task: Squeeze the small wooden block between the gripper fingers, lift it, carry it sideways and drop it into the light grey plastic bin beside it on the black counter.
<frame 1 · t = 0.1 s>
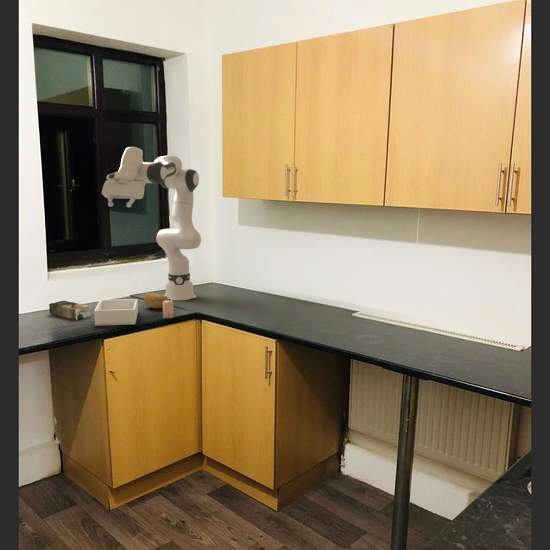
hand: (119, 206, 250), 54 cm above the kitchen counter, tool tilted 30°, fingers open, 8 cm apart
bin: (117, 318, 266), on the kitchen counter
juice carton: (70, 316, 270), on the kitchen counter
wooden block: (168, 317, 270), on the kitchen counter
potato: (156, 308, 287), on the kitchen counter
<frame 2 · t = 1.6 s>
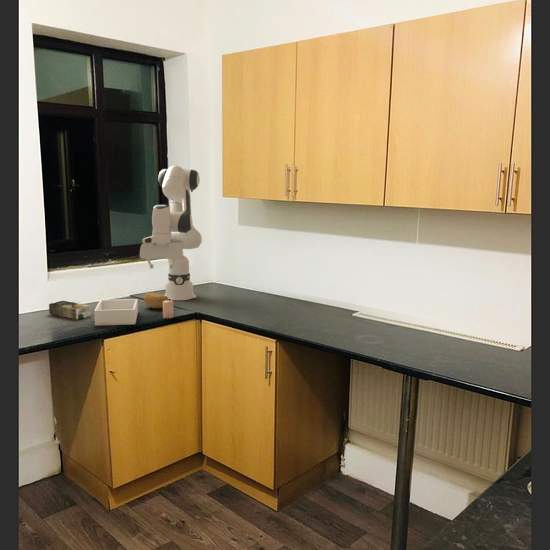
hand: (161, 268, 263), 25 cm above the kitchen counter, tool pointing down, fingers open, 8 cm apart
nothing on the kitchen counter moved.
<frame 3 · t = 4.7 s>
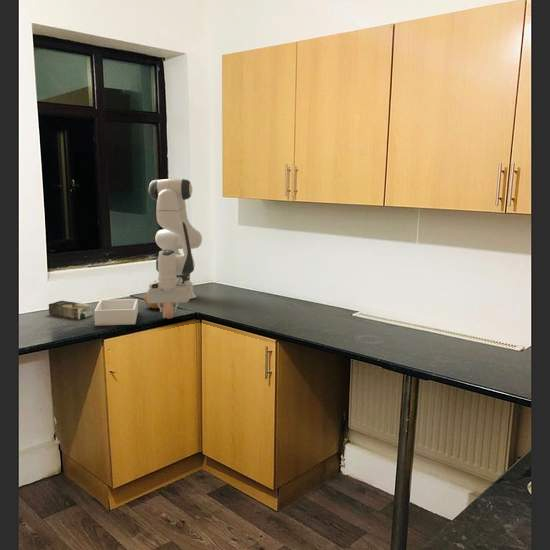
hand: (168, 311, 270), 3 cm above the kitchen counter, tool pointing down, fingers closed on wooden block, 5 cm apart
wooden block: (168, 317, 270), on the kitchen counter, touching gripper
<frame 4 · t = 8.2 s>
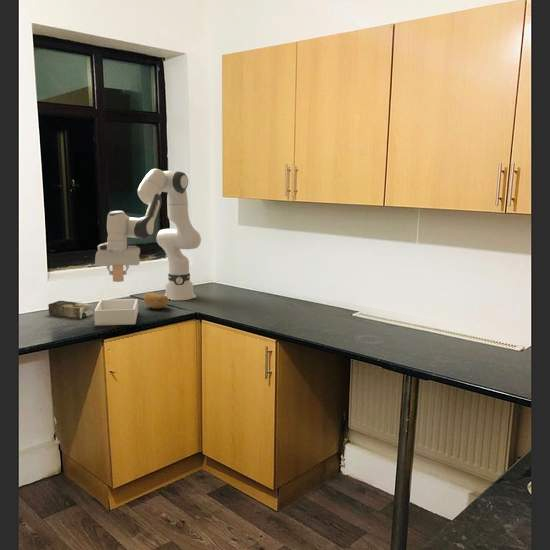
hand: (118, 274, 262), 22 cm above the kitchen counter, tool pointing down, fingers closed on wooden block, 5 cm apart
wooden block: (118, 280, 262), point 19 cm above the kitchen counter, touching gripper
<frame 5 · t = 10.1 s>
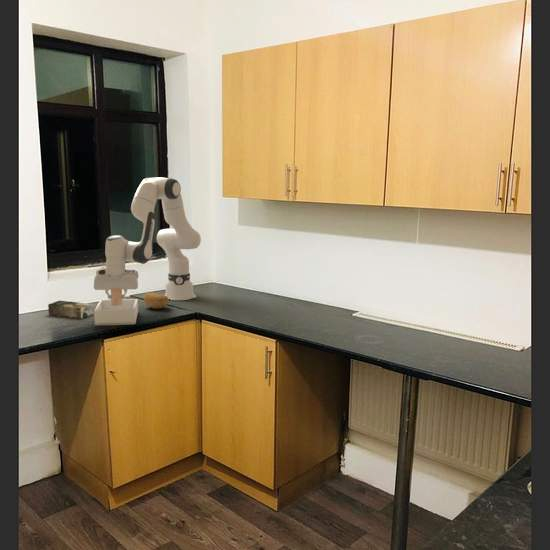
hand: (116, 298, 264), 10 cm above the kitchen counter, tool pointing down, fingers closed on wooden block, 5 cm apart
wooden block: (116, 304, 264), point 7 cm above the kitchen counter, touching gripper
when the fingers open (6 cm above the kitchen counter, at t = 11.6 s): wooden block drops 2 cm, resting on bin.
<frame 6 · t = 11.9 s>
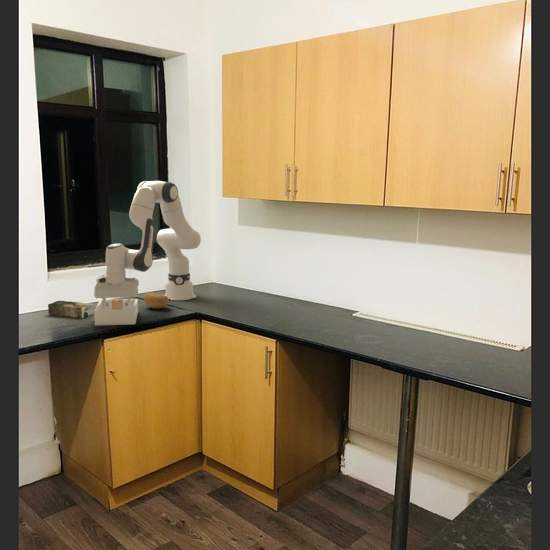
hand: (117, 306, 265), 6 cm above the kitchen counter, tool pointing down, fingers open, 8 cm apart
wooden block: (117, 316, 266), point 1 cm above the kitchen counter, touching bin
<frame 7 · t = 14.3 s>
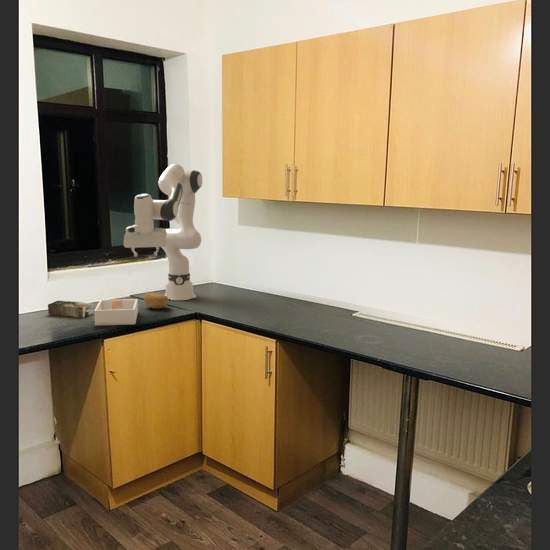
hand: (145, 256, 270), 29 cm above the kitchen counter, tool pointing down, fingers open, 8 cm apart
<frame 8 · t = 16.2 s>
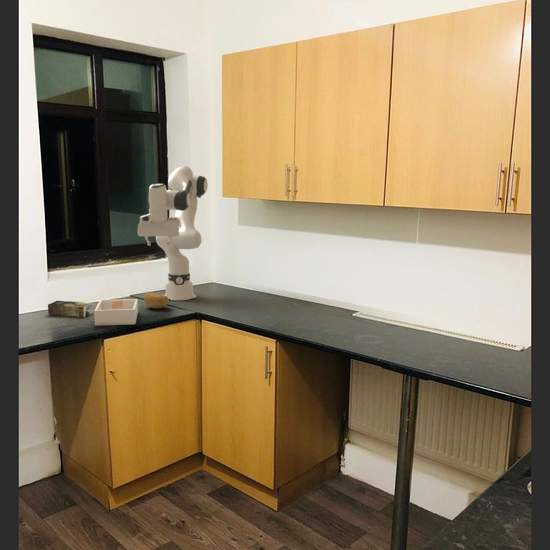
hand: (158, 245, 273), 34 cm above the kitchen counter, tool pointing down, fingers open, 8 cm apart
at the end: wooden block inside the target area on the bin (0.2 cm from its centre), point 1.0 cm above the bin's base; wooden block tilted 1°; the gripper is holding nothing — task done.
